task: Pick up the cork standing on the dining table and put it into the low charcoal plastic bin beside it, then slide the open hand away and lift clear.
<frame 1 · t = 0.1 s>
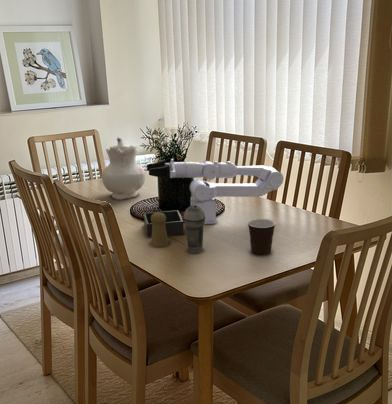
hand: (147, 169, 200), 22 cm above the table, tool horizontal, fingers open, 7 cm apart
bin: (163, 229, 203), on the table
ceramic pitcher: (124, 195, 249), on the table
beverage cup: (195, 251, 183), on the table
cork: (159, 244, 190), on the table
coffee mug: (263, 250, 182), on the table
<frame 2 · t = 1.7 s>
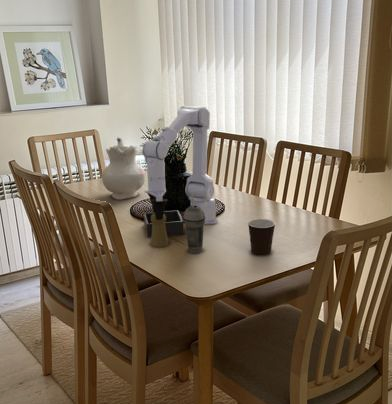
hand: (158, 215, 186), 10 cm above the table, tool pointing down, fingers open, 7 cm apart
nothing on the table moved.
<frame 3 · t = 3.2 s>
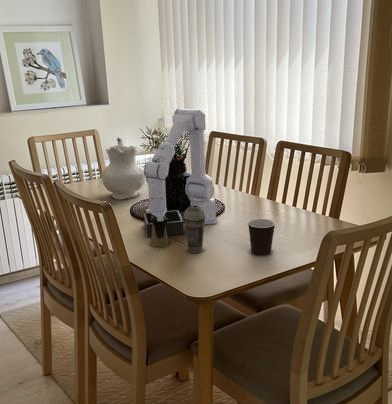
hand: (159, 234, 189), 3 cm above the table, tool pointing down, fingers closed on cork, 5 cm apart
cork: (159, 244, 190), on the table, touching gripper
everything else where it was.
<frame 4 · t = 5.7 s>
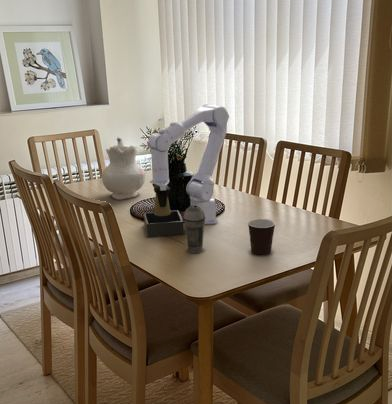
hand: (162, 204, 198), 10 cm above the table, tool pointing down, fingers closed on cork, 5 cm apart
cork: (162, 214, 199), point 7 cm above the table, touching gripper
everything else where it was.
when the fingers open (4 cm above the table, at t = 8.2 s): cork stays where it is, resting on bin.
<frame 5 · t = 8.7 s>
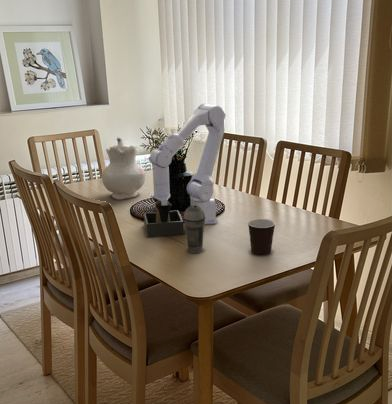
hand: (163, 218, 202), 4 cm above the table, tool pointing down, fingers open, 7 cm apart
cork: (163, 229, 203), resting on bin
everything else where it was.
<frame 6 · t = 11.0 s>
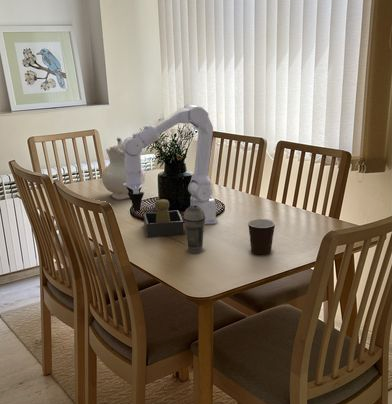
hand: (136, 207, 200), 9 cm above the table, tool pointing down, fingers open, 7 cm apart
nothing on the table moved.
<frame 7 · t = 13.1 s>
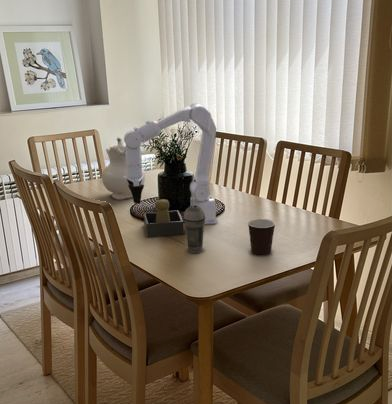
hand: (136, 200, 204), 10 cm above the table, tool pointing down, fingers open, 7 cm apart
nothing on the table moved.
at the end: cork inside the target area in the bin (0.0 cm from its centre), point 0.3 cm above the bin's base; the gripper is holding nothing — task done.
